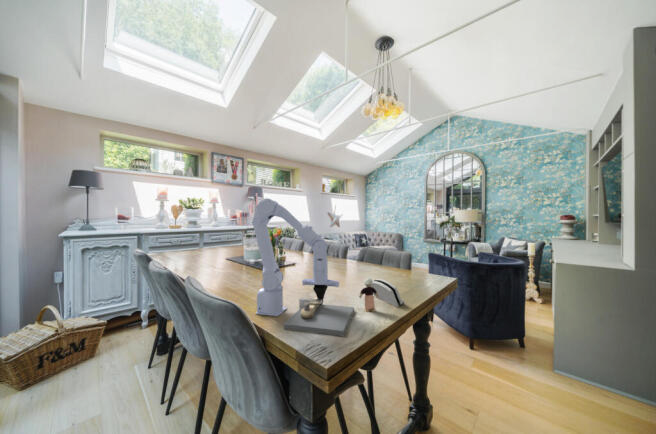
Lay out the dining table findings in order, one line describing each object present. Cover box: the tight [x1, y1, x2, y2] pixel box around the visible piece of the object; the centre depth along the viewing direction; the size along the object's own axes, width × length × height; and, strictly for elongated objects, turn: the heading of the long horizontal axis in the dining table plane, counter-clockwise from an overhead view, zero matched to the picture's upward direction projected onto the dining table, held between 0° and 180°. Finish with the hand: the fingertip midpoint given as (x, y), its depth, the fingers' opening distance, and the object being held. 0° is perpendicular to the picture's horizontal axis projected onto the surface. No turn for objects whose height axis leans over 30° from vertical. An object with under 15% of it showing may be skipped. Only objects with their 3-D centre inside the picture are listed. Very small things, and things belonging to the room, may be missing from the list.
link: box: [301, 296, 319, 318], centre depth 86 cm, size 16×4×4 cm, turn 166°
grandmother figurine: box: [358, 277, 379, 313], centre depth 90 cm, size 8×4×13 cm, turn 108°
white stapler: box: [371, 278, 406, 308], centre depth 101 cm, size 17×5×10 cm, turn 24°
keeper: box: [298, 297, 322, 311], centre depth 87 cm, size 8×2×4 cm, turn 74°
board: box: [283, 303, 355, 337], centre depth 82 cm, size 20×20×2 cm
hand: (320, 304), depth 90 cm, fingers closed
